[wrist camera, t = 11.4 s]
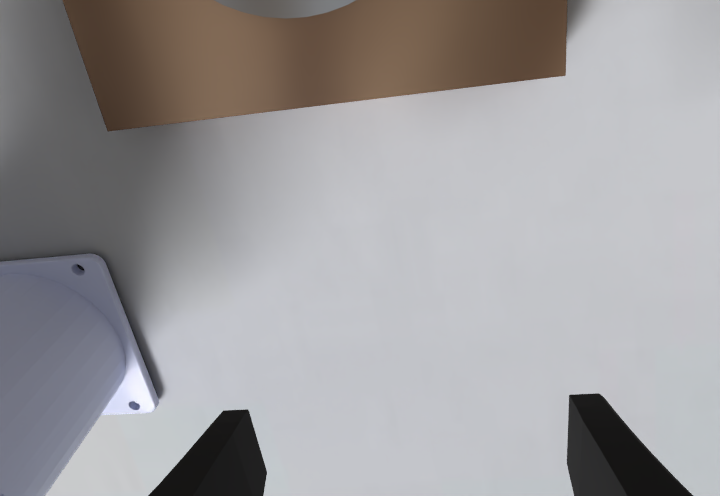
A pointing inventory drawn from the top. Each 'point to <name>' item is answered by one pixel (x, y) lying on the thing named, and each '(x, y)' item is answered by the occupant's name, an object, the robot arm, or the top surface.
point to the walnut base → (303, 52)
